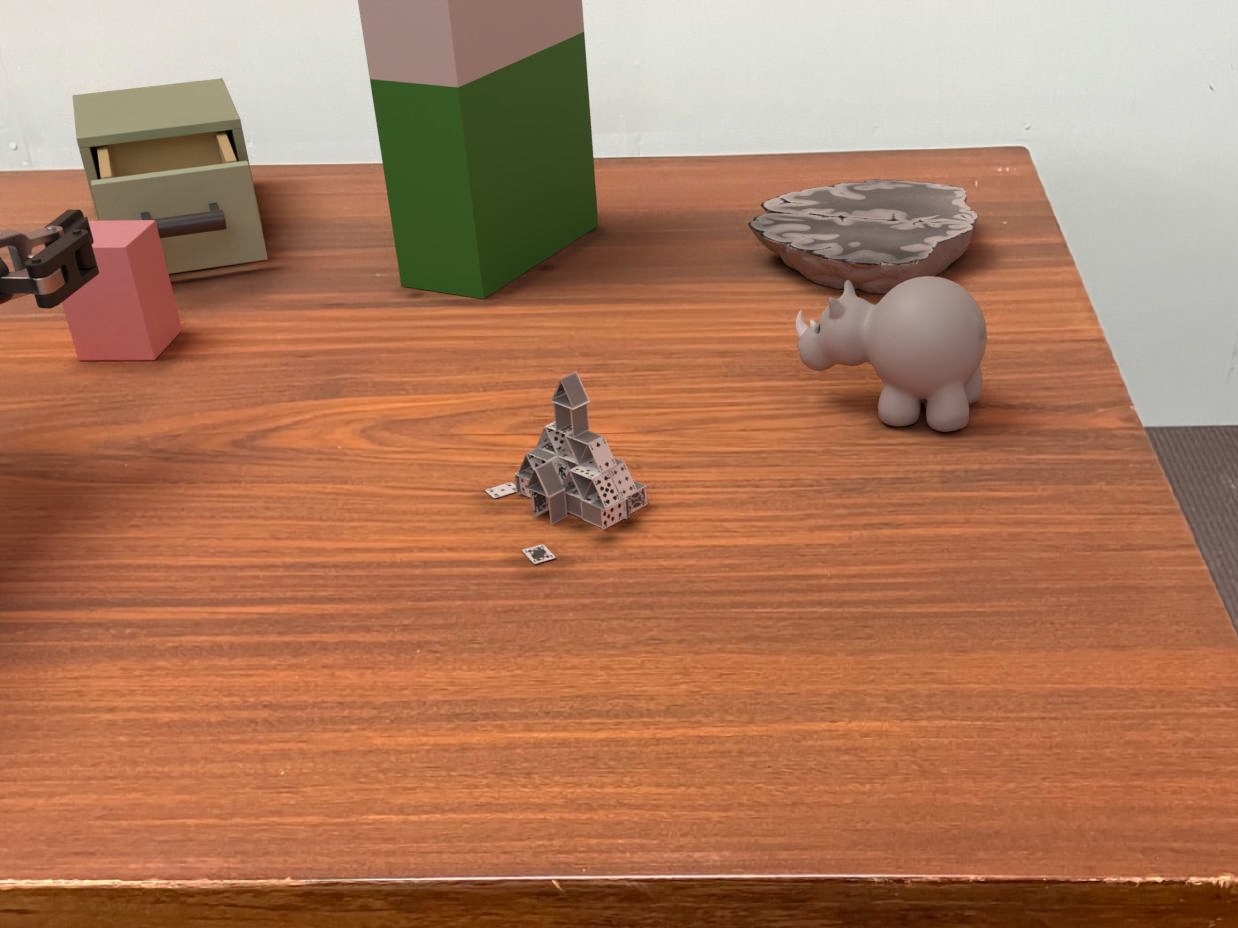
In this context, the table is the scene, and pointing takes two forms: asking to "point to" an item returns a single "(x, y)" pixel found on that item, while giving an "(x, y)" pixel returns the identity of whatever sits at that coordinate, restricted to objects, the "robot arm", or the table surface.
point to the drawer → (184, 198)
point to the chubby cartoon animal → (906, 348)
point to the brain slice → (868, 231)
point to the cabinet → (154, 118)
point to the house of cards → (574, 470)
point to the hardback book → (481, 135)
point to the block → (124, 296)
